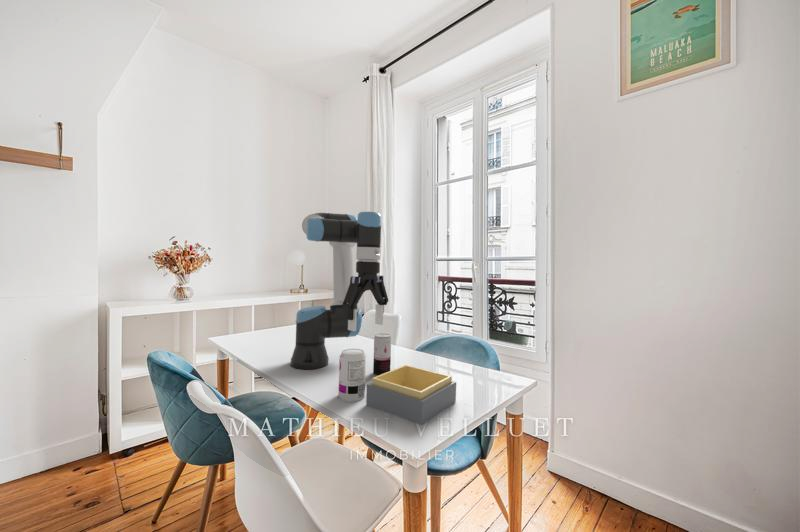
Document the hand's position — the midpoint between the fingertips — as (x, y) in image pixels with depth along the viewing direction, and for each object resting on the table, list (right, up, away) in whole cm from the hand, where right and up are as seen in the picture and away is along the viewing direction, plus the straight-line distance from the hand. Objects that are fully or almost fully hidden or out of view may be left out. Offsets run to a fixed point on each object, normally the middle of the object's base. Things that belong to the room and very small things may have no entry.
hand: (366, 327), depth 114 cm
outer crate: (+14, -23, -6) cm, 28 cm away
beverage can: (+4, -22, +23) cm, 32 cm away
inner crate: (+14, -22, -6) cm, 27 cm away
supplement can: (-4, -23, -2) cm, 23 cm away
